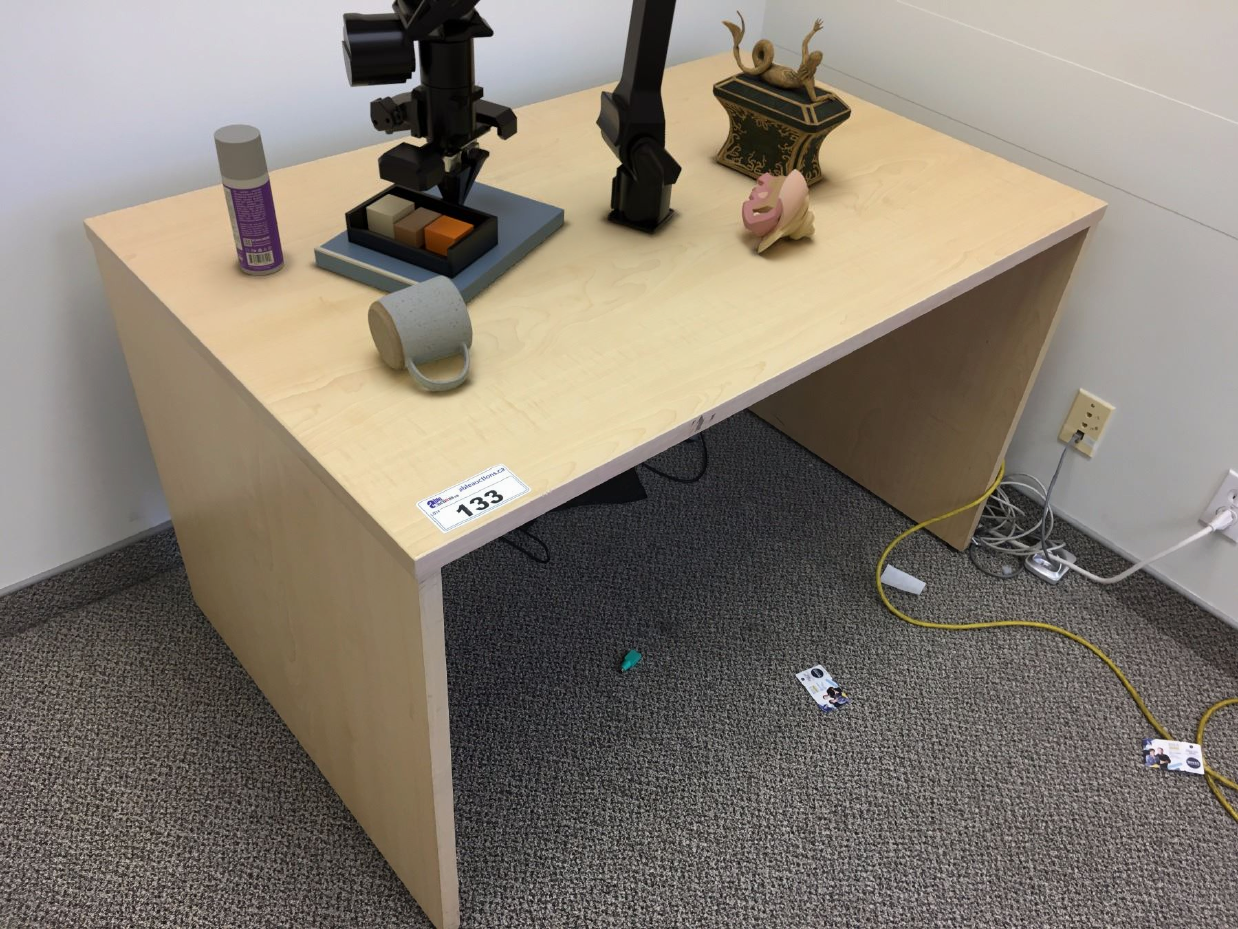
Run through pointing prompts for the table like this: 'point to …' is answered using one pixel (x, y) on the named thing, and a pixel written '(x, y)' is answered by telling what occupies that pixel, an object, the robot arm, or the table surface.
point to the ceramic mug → (422, 328)
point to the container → (249, 198)
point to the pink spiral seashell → (779, 208)
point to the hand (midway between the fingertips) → (454, 213)
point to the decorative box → (777, 112)
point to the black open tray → (422, 230)
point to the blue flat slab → (517, 236)
